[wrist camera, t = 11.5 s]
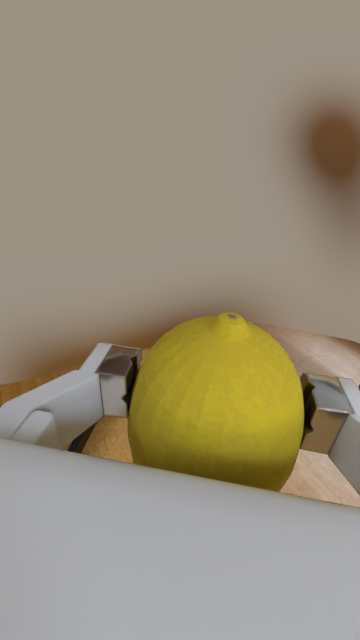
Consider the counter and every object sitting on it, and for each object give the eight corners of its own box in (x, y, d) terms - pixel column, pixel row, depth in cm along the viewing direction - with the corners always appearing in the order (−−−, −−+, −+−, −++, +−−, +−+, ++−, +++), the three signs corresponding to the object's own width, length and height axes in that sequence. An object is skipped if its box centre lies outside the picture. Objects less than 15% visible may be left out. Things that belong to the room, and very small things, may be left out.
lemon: (244, 614, 9) (340, 439, 5) (99, 512, 11) (75, 329, 7) (280, 464, 13) (347, 305, 9) (172, 412, 15) (186, 264, 11)
